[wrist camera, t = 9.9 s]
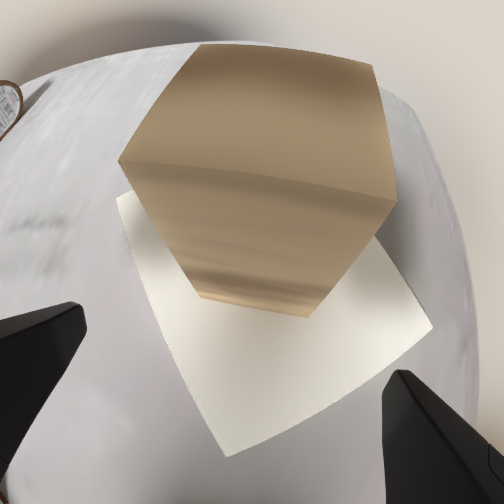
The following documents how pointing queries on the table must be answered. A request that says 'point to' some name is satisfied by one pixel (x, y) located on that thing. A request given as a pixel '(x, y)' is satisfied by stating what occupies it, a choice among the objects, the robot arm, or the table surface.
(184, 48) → the table surface
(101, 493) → the table surface
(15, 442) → the robot arm
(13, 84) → the tin
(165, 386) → the table surface
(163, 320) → the cutting board
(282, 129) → the wooden block
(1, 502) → the food container
